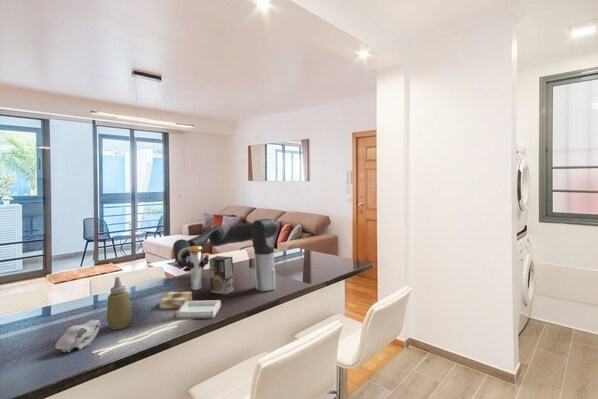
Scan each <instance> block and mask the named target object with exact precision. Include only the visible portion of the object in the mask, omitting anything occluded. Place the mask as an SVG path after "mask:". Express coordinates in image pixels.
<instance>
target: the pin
mask: <svg viewBox="0 0 598 399" xmlns="http://www.w3.org/2000/svg"><path fill="white" fill-rule="evenodd" d="M202 250H203V249H202V246H191V247H188V251H190V262H191V263H192V269H190V282H191V283H190V285H191V286H190V287H191V289H192V290H200V289H202V288H203V279H202V278H203V277H202V275H203V274H202V266H201V257H202Z"/></svg>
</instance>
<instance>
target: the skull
mask: <svg viewBox="0 0 598 399" xmlns="http://www.w3.org/2000/svg"><path fill="white" fill-rule="evenodd" d="M101 324H102V323H101V321H100V320H98V319H89V320H88V321H87V322H85V323H83V324H80V325H79V324H78V325H77V324H75V325H71V326H70V327H68V328H67V329H66V331H65V332H64V333H63V335H62V336H60V337H59V339H58V340H57V342H56V343H55V346H54V349H56V350H61V352H62V353H63V352H64V353H67V352H68V354H69V353H71V351H73V350H74V349H76V348H78V349H77V350H78V351H81V350H82V349H84V348H85V347H89V346H90V345H91V344H92V342H93V341H94V340H95V338H96V336H97V335H98V333H99V331H100V328H101Z"/></svg>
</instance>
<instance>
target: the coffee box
mask: <svg viewBox="0 0 598 399" xmlns="http://www.w3.org/2000/svg"><path fill="white" fill-rule="evenodd" d="M233 262H234V261H233V256H223V255H222V256H221V255H216V256H214V257H210V258H209V262H208V264H209V275H210V276H209V279H210V293H214V294H219V295H220V294H222V295H228V294H230V293H232V292H234V291H235V290H234V289H235V286H234V266H233Z"/></svg>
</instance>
